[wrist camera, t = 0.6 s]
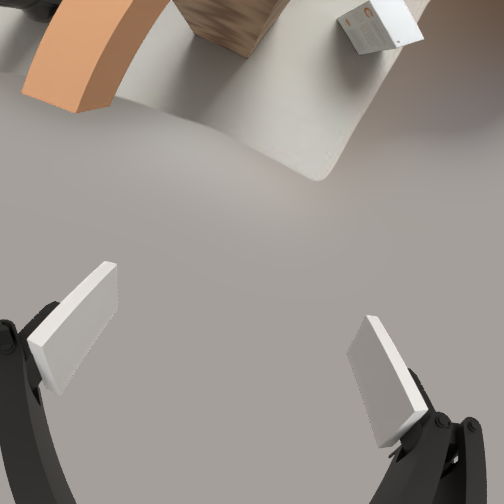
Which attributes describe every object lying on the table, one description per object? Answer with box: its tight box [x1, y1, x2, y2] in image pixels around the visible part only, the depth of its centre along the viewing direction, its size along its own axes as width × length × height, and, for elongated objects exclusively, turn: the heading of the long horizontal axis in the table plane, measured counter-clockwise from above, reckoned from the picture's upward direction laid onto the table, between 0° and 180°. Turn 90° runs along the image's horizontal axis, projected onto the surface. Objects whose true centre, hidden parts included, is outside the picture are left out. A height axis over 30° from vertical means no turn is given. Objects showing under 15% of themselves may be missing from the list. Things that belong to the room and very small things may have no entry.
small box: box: [337, 0, 424, 55], centre depth 28 cm, size 8×6×13 cm
